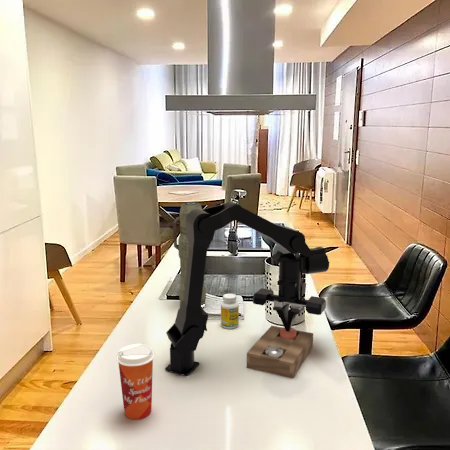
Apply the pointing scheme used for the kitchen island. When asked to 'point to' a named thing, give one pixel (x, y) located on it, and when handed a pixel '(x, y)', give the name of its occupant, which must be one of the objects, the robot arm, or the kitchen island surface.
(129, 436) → the kitchen island surface
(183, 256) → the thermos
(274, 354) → the grey plunger
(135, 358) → the paper cup
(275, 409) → the kitchen island surface
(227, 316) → the supplement bottle
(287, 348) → the press box
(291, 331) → the pink round plug
